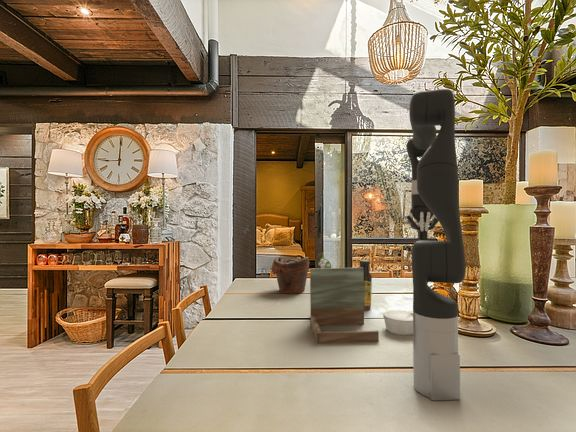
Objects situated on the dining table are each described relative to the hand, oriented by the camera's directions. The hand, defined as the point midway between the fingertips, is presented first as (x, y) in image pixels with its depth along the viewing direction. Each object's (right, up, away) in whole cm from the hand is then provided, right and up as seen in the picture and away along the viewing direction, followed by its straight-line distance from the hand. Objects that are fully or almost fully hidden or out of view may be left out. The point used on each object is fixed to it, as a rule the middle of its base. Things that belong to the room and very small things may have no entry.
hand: (422, 241), depth 120 cm
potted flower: (-34, -30, +8) cm, 46 cm away
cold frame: (-30, -29, -8) cm, 43 cm away
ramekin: (-10, -30, -7) cm, 32 cm away
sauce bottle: (-17, -29, +19) cm, 39 cm away
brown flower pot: (-47, -29, +52) cm, 76 cm away
